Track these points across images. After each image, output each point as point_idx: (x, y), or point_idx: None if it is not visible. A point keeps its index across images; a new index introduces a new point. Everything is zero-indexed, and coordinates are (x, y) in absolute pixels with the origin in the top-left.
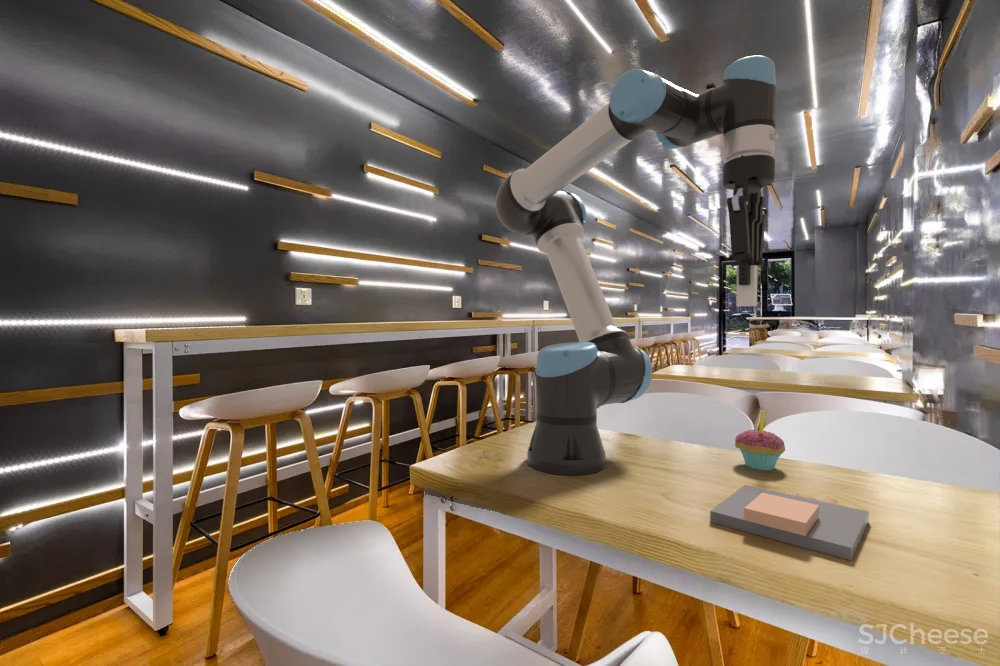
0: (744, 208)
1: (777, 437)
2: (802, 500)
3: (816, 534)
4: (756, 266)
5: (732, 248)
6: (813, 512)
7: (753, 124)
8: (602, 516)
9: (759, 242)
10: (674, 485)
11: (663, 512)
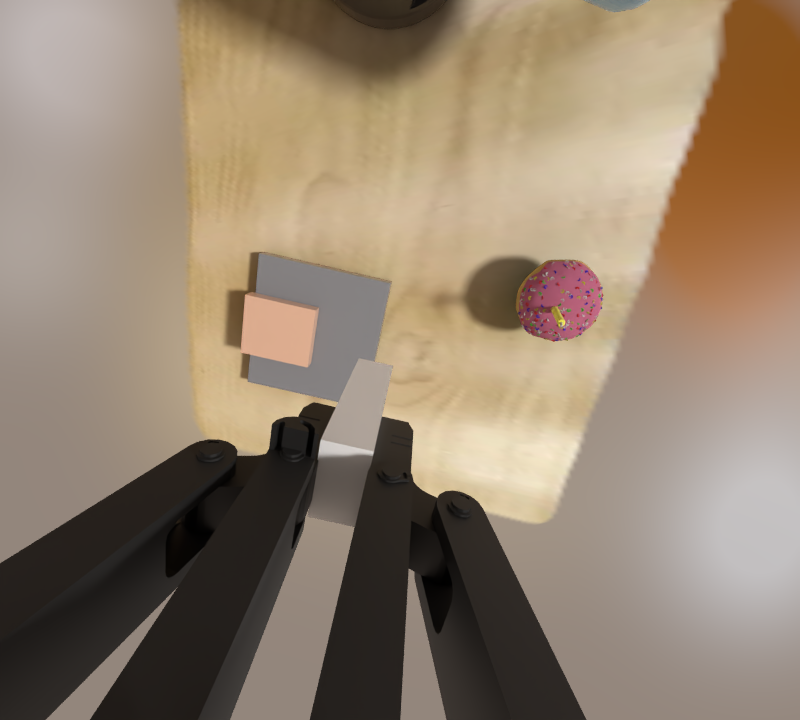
0: None
1: (555, 333)
2: (364, 349)
3: (261, 357)
4: (339, 519)
5: (140, 482)
6: (278, 360)
7: None
8: (193, 117)
9: (443, 691)
10: (377, 180)
11: (258, 192)
